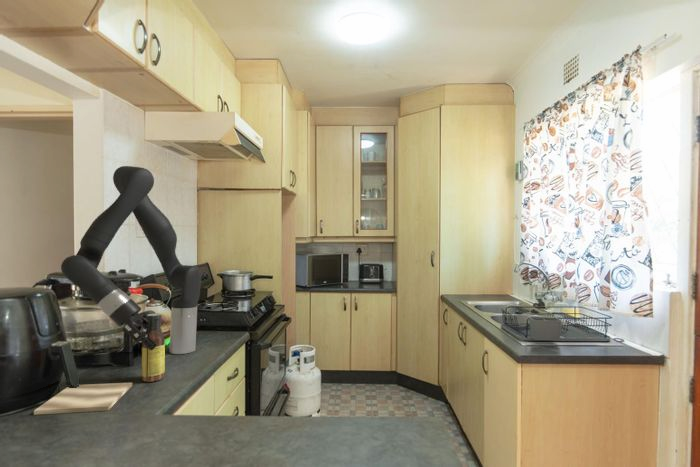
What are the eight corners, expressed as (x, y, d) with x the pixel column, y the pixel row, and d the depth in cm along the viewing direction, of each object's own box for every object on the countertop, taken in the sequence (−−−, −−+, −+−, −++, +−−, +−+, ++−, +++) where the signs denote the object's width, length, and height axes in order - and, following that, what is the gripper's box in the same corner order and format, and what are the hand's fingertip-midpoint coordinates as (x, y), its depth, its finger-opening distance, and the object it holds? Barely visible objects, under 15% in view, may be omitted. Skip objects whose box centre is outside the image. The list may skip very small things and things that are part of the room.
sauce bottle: (168, 376, 115) (171, 313, 116) (156, 383, 109) (159, 316, 110) (148, 375, 116) (152, 312, 116) (135, 382, 109) (138, 315, 110)
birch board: (69, 388, 103) (69, 385, 103) (132, 386, 107) (132, 382, 107) (33, 414, 88) (34, 410, 88) (108, 410, 91) (108, 406, 91)
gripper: (120, 301, 105) (161, 341, 107) (138, 295, 119) (174, 330, 121) (98, 320, 103) (141, 360, 105) (119, 311, 117) (156, 346, 119)
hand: (158, 344), depth 113 cm, fingers open, 8 cm apart
